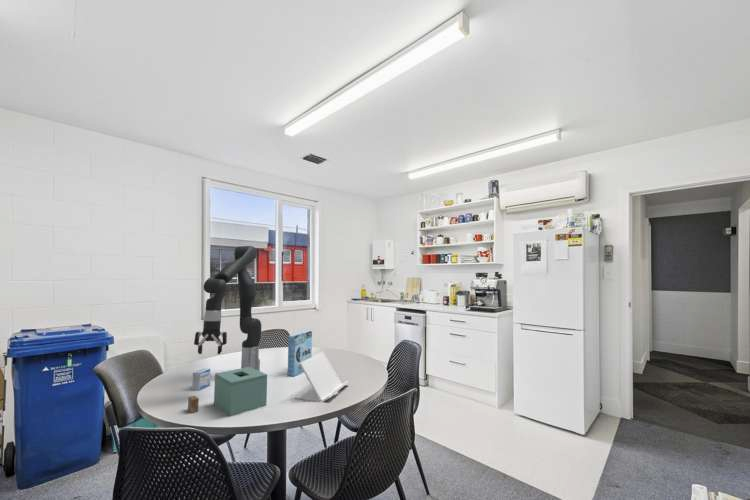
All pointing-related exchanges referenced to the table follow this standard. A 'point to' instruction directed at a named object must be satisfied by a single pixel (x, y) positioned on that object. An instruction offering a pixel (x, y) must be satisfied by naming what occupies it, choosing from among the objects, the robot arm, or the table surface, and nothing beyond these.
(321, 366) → the tablet stand
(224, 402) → the box
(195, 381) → the medicine box
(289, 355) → the gum box
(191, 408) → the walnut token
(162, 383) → the table surface
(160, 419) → the table surface
